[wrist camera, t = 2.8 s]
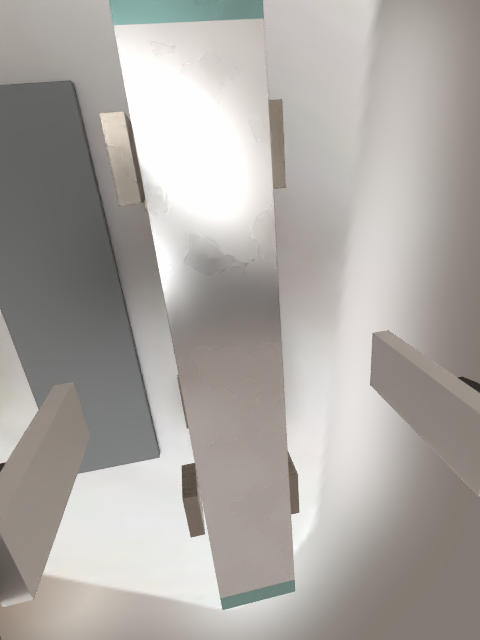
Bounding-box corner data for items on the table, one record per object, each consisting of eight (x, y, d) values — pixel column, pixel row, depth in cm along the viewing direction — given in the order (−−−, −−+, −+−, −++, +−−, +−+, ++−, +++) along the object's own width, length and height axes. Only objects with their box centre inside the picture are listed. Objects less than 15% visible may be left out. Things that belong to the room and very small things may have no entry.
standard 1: (177, 374, 29) (179, 485, 18) (253, 361, 30) (297, 460, 19) (186, 424, 31) (193, 549, 20) (258, 410, 32) (299, 524, 21)
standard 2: (130, 127, 22) (91, 78, 12) (231, 119, 23) (280, 66, 12) (146, 210, 24) (125, 233, 13) (239, 200, 25) (286, 213, 14)
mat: (-76, 93, 20) (-83, 90, 19) (73, 83, 21) (70, 80, 20) (66, 470, 30) (64, 476, 30) (159, 452, 31) (159, 457, 31)
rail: (127, 46, 13) (104, -25, 9) (232, 40, 14) (261, -30, 9) (213, 525, 23) (222, 610, 19) (271, 512, 24) (295, 591, 19)
